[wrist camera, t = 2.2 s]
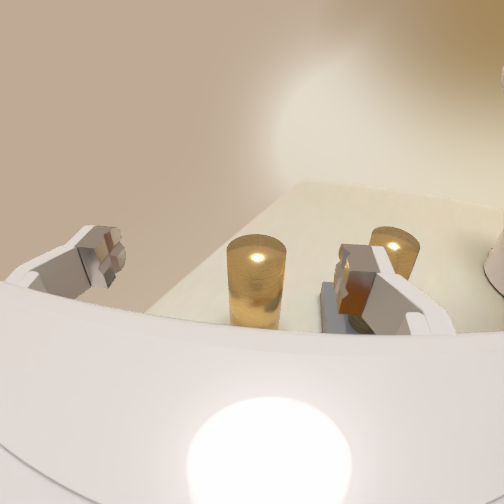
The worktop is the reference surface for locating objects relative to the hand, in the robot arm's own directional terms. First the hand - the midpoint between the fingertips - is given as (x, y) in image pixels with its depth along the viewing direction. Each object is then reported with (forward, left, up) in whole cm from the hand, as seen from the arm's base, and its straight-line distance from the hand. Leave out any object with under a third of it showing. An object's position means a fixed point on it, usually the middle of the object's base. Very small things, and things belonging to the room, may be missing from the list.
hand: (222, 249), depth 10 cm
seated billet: (-13, -15, -19) cm, 27 cm away
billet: (0, -12, -19) cm, 23 cm away
